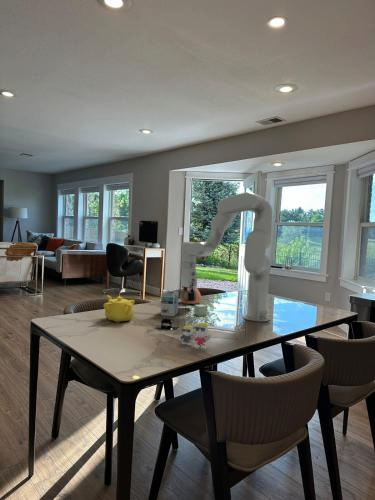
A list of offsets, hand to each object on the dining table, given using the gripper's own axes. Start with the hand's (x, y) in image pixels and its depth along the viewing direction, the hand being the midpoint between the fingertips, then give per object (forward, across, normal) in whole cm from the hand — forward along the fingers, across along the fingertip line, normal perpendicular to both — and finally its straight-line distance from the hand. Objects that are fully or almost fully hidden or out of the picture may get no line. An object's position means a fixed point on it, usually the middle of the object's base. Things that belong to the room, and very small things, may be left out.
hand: (188, 299), depth 189 cm
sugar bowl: (+5, +13, -8) cm, 16 cm away
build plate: (+6, -31, +27) cm, 42 cm away
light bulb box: (+5, -8, +15) cm, 18 cm away
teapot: (+5, -12, +42) cm, 44 cm away
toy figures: (+6, -55, +27) cm, 61 cm away
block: (+1, 0, 0) cm, 1 cm away
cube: (+5, -14, +1) cm, 15 cm away
